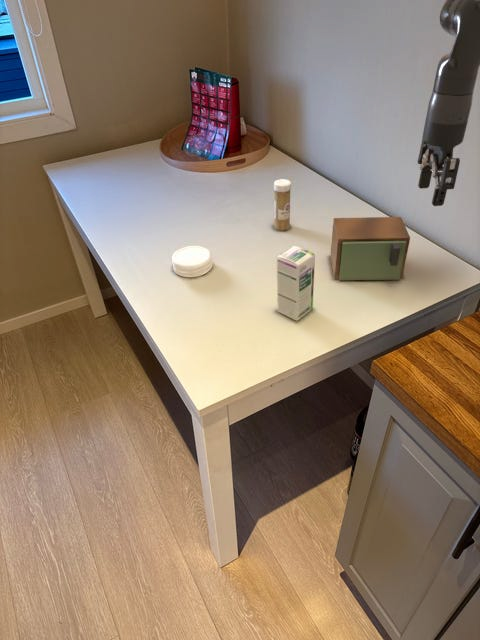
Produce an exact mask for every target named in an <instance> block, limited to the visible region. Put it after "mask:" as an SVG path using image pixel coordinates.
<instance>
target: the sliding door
mask: <svg viewBox="0 0 480 640" xmlns="http://www.w3.org/2000/svg"><path fill="white" fill-rule="evenodd" d="M405 248H406V241H368V242H343V244H342V254H341V263H340V273H339V279H338V280H339V281H379V280H380V281H381V280H383V281H384V280H385V281H386V280H390V281H391V280H392V281H393V280H400V279H401V278H400V273H401V268H402V263H403V258H404V253H405Z"/></svg>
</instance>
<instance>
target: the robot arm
mask: <svg viewBox="0 0 480 640" xmlns="http://www.w3.org/2000/svg"><path fill="white" fill-rule="evenodd" d="M439 24H440V26H441V28H442V30H443V31H444V32H445V33H446V34H448V35H450V36H452V37H455V39H454V42H453V45H452V48H451V51H450V52H449V53H446V54H444V55H443V56H442V57H441V58H440V59H439V62H438V64H437V68H436V72H435V77H434V82H433V87H432V93H431V95H430V98H429V101H428V105H427V111H426V117H425V122H424V127H423V131H422V139H421V144H420V149H419V153H418V156H417V164H418V165H419V170H420V174H419V178H418V184H417V187H418V188H419V189H428V188H429V187H430V185H431V179H432V178H434V184H435V188H434V190H433V195H432V199H431V204H432V206H433V207H442V206H443V205H444V203H445V200H446V196H447V192H448V190H454V189H455V186H456V181H457V176H458V171H459V168H460V163H461V159H460V157H454V148H456V147H457V146H459V145H461V144H462V143H463V142H464V139H465V135H466V132H467V131H466V130H467V126H468V123H469V118H470V114H471V110H472V106H473V97H474V92H475V88H476V83H477V79H478V76H479V71H480V0H445V1H444V3H443V5H442V6H441V10H440V13H439Z"/></svg>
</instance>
